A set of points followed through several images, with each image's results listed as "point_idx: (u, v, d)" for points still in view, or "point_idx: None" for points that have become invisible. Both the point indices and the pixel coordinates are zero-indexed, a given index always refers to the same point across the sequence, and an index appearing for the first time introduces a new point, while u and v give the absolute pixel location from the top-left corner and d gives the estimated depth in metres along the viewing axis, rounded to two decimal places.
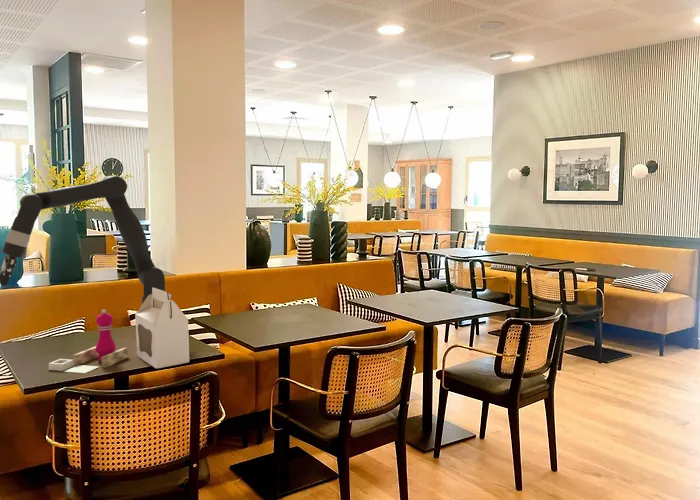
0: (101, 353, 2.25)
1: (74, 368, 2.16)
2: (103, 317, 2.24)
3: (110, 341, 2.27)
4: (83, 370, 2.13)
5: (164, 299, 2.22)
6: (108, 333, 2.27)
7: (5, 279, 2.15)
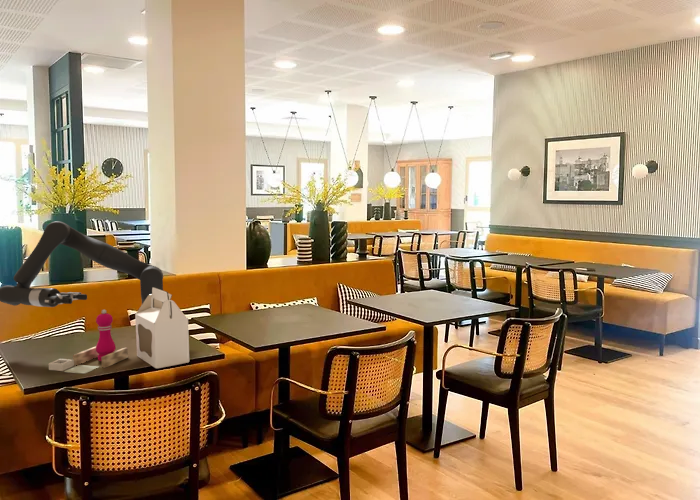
0: (101, 353, 2.25)
1: (74, 368, 2.16)
2: (103, 317, 2.24)
3: (110, 341, 2.27)
4: (83, 370, 2.13)
5: (164, 299, 2.22)
6: (108, 333, 2.27)
7: (64, 301, 2.24)
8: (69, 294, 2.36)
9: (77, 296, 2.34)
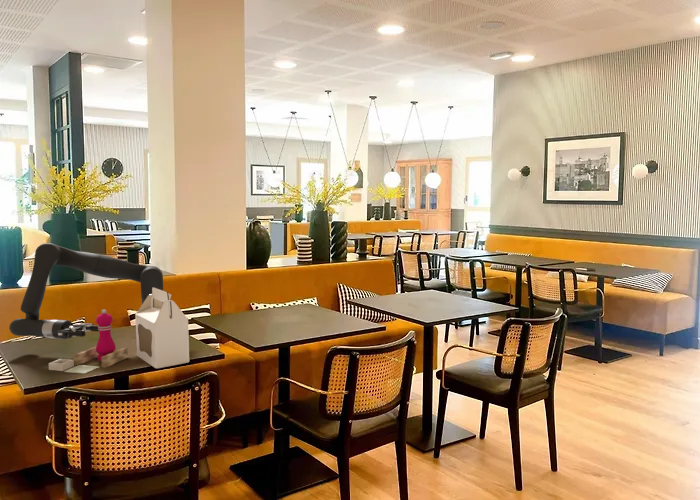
0: (101, 353, 2.25)
1: (74, 368, 2.16)
2: (103, 317, 2.24)
3: (110, 341, 2.27)
4: (83, 370, 2.13)
5: (164, 299, 2.22)
6: (108, 333, 2.27)
7: (77, 334, 2.24)
8: (82, 325, 2.36)
9: (90, 327, 2.34)
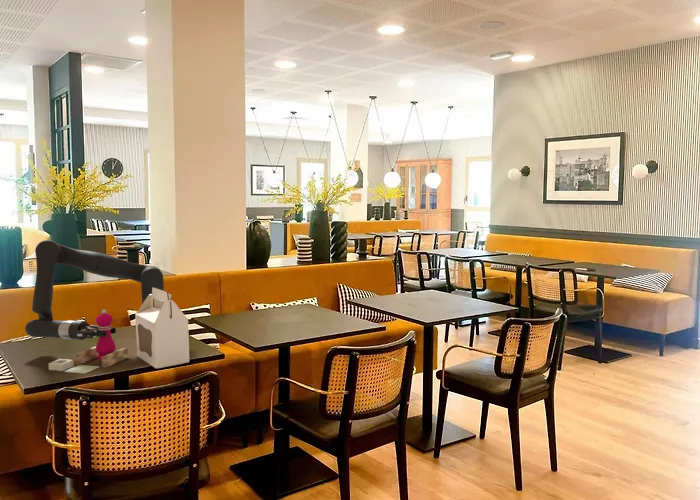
0: (101, 353, 2.25)
1: (74, 368, 2.16)
2: (103, 317, 2.24)
3: (110, 341, 2.27)
4: (83, 370, 2.13)
5: (164, 299, 2.22)
6: (108, 333, 2.27)
7: (99, 334, 2.24)
8: None
9: None
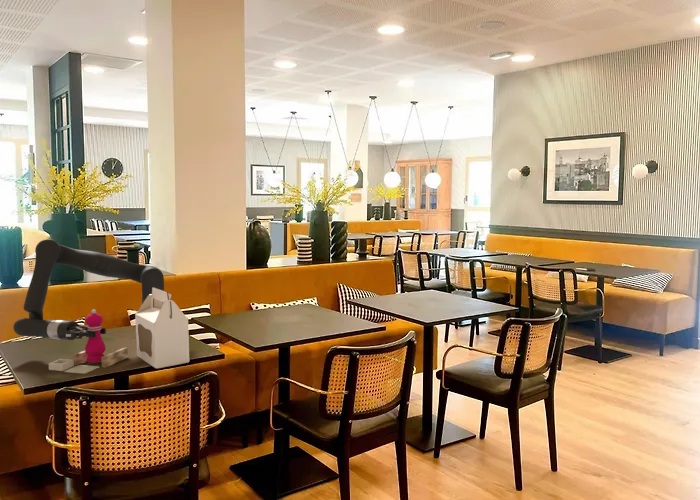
0: (90, 354, 2.20)
1: (74, 368, 2.16)
2: (93, 317, 2.19)
3: (100, 342, 2.21)
4: (83, 370, 2.13)
5: (164, 299, 2.22)
6: (98, 334, 2.21)
7: (88, 334, 2.18)
8: None
9: None
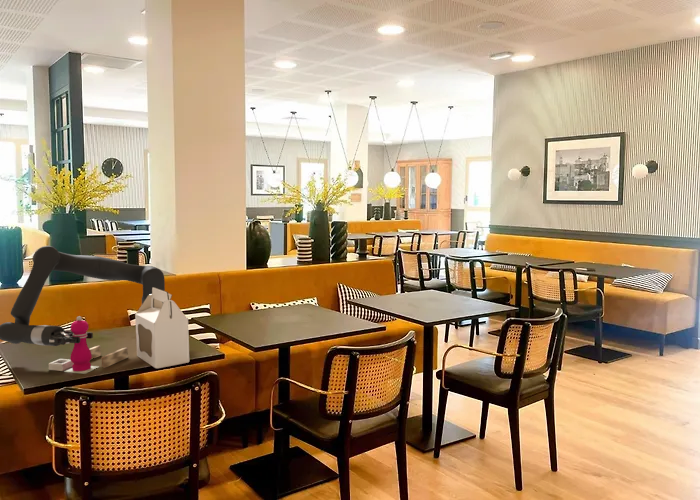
0: (76, 362, 2.12)
1: None
2: (78, 324, 2.11)
3: (86, 350, 2.13)
4: None
5: (164, 299, 2.22)
6: (83, 341, 2.13)
7: (71, 340, 2.10)
8: None
9: None
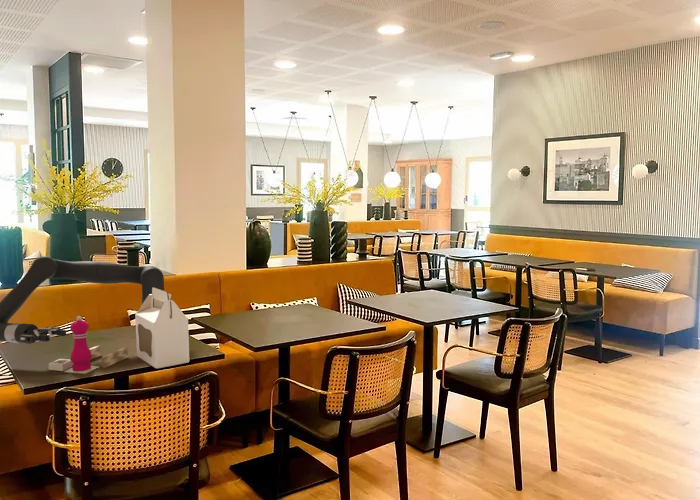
0: (76, 362, 2.12)
1: None
2: (78, 324, 2.11)
3: (85, 350, 2.13)
4: None
5: (164, 299, 2.22)
6: (83, 341, 2.13)
7: (41, 338, 2.12)
8: (47, 329, 2.23)
9: (56, 332, 2.21)
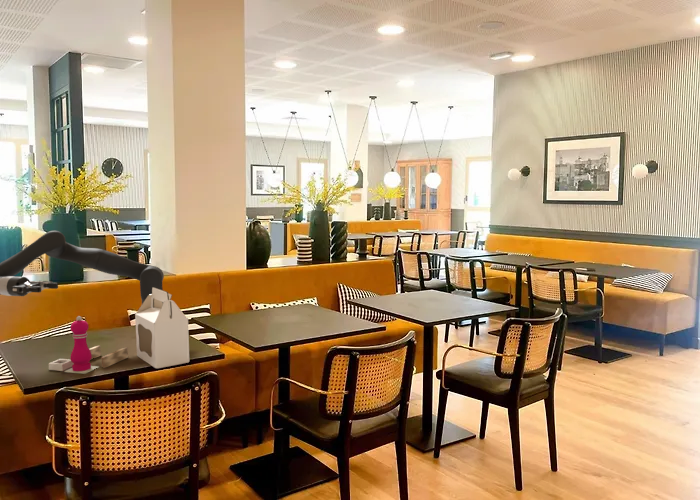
0: (76, 362, 2.12)
1: None
2: (78, 324, 2.11)
3: (85, 350, 2.13)
4: None
5: (164, 299, 2.22)
6: (83, 341, 2.13)
7: (33, 289, 2.14)
8: (40, 283, 2.26)
9: (48, 285, 2.23)
